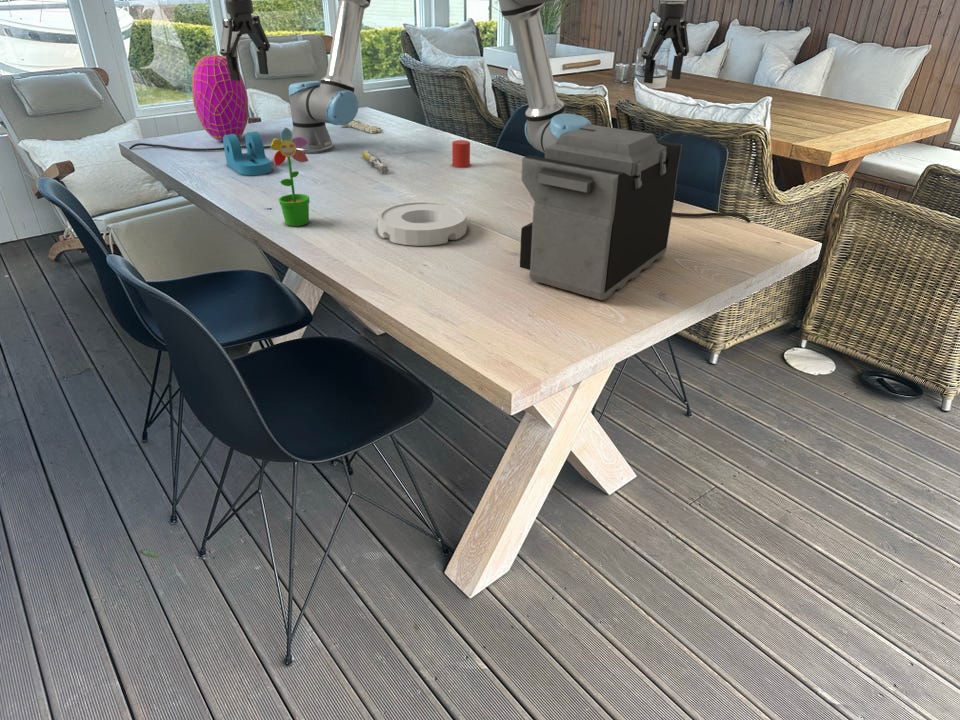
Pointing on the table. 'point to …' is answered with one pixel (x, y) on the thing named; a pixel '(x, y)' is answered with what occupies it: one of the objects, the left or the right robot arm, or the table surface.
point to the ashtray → (422, 223)
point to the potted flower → (291, 178)
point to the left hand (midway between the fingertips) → (250, 77)
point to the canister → (461, 153)
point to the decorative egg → (219, 98)
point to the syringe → (375, 161)
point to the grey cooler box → (598, 208)
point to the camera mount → (246, 154)
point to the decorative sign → (363, 126)
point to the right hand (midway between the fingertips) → (661, 81)
